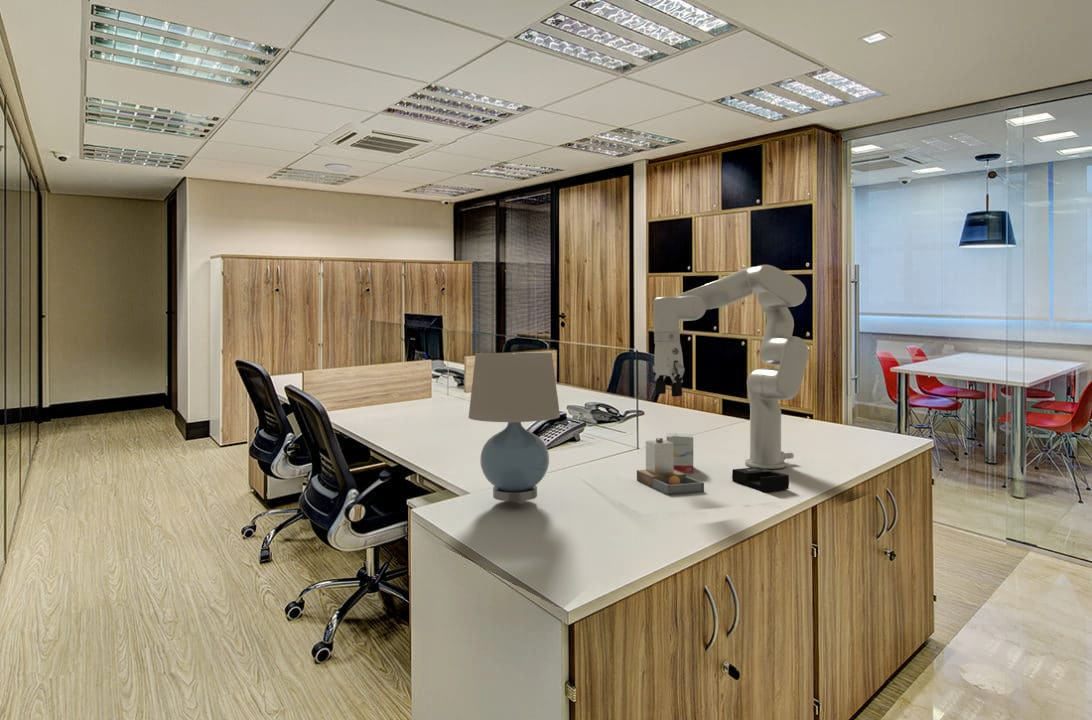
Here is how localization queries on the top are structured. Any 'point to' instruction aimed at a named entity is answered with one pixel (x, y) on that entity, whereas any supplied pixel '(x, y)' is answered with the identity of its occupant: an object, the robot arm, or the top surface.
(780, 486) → the battery charger
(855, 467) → the top surface
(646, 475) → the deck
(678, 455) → the ink box
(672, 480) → the ball
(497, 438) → the lamp
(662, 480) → the tray
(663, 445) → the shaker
